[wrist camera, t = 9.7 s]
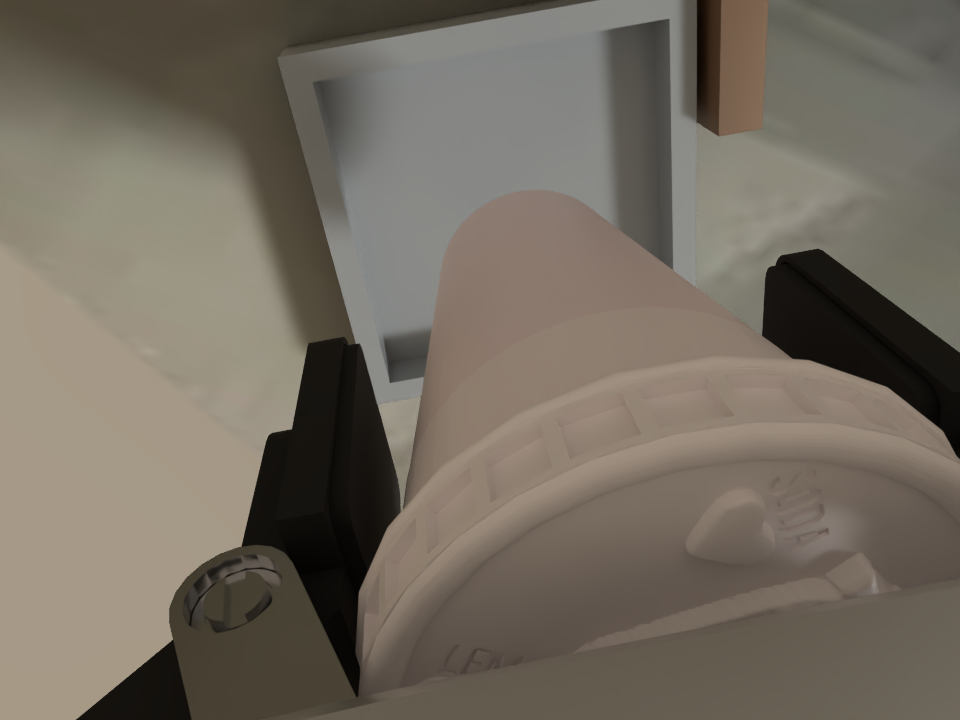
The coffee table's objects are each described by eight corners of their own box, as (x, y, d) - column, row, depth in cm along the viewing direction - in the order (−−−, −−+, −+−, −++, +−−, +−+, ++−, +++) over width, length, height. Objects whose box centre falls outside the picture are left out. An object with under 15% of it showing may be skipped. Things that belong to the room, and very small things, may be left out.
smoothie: (306, 288, 15) (-62, 1872, 3) (537, 38, 13) (2702, 1684, 1) (524, 452, 17) (821, 1616, 5) (743, 266, 16) (1949, 1430, 4)
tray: (672, -22, 17) (696, -18, 16) (676, 319, 22) (696, 346, 20) (286, 46, 17) (276, 57, 15) (374, 375, 21) (372, 405, 20)
